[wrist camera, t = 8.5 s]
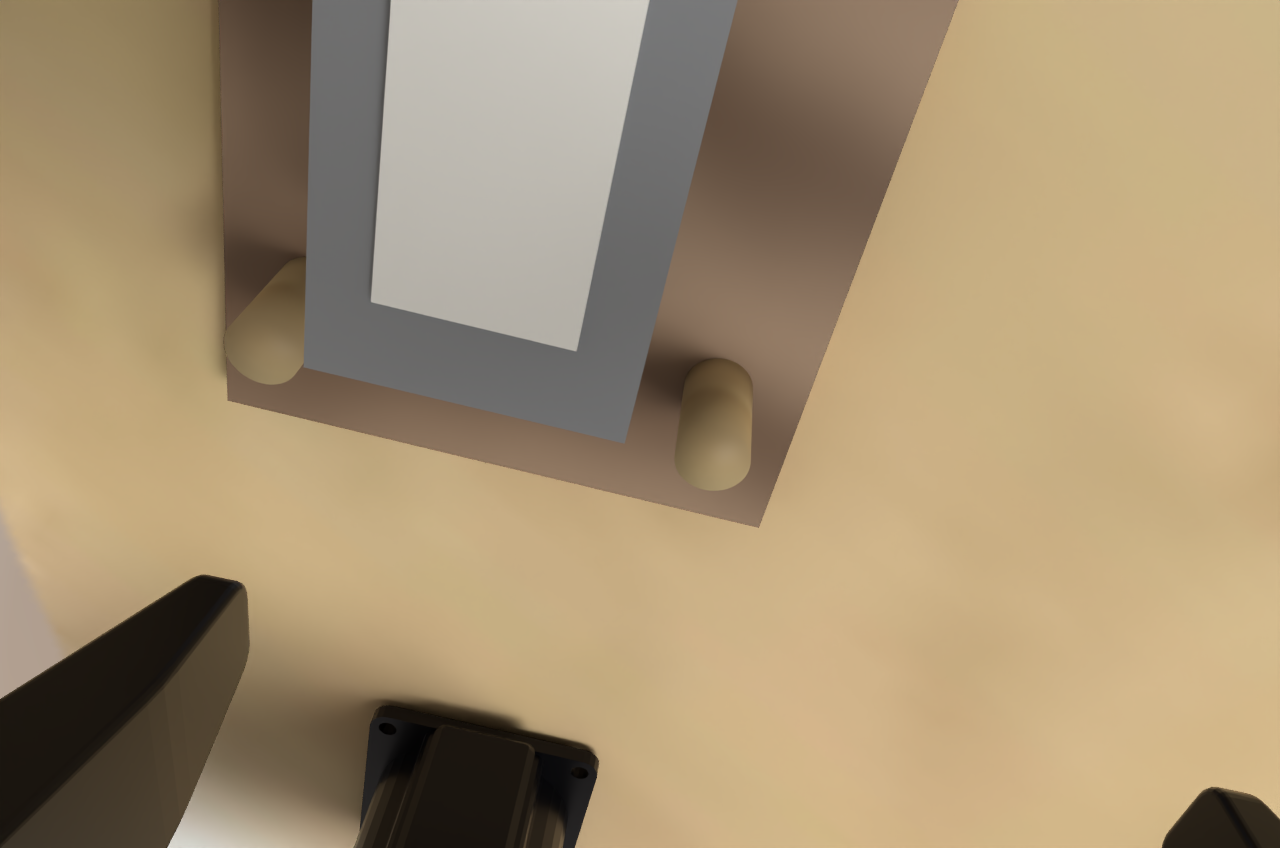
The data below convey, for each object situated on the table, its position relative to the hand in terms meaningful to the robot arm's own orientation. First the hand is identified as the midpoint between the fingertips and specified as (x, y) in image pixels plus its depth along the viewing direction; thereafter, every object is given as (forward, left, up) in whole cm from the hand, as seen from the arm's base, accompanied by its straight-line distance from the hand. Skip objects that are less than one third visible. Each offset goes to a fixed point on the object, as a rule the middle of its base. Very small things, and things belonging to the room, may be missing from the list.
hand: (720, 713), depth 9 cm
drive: (+2, +4, -11) cm, 12 cm away
